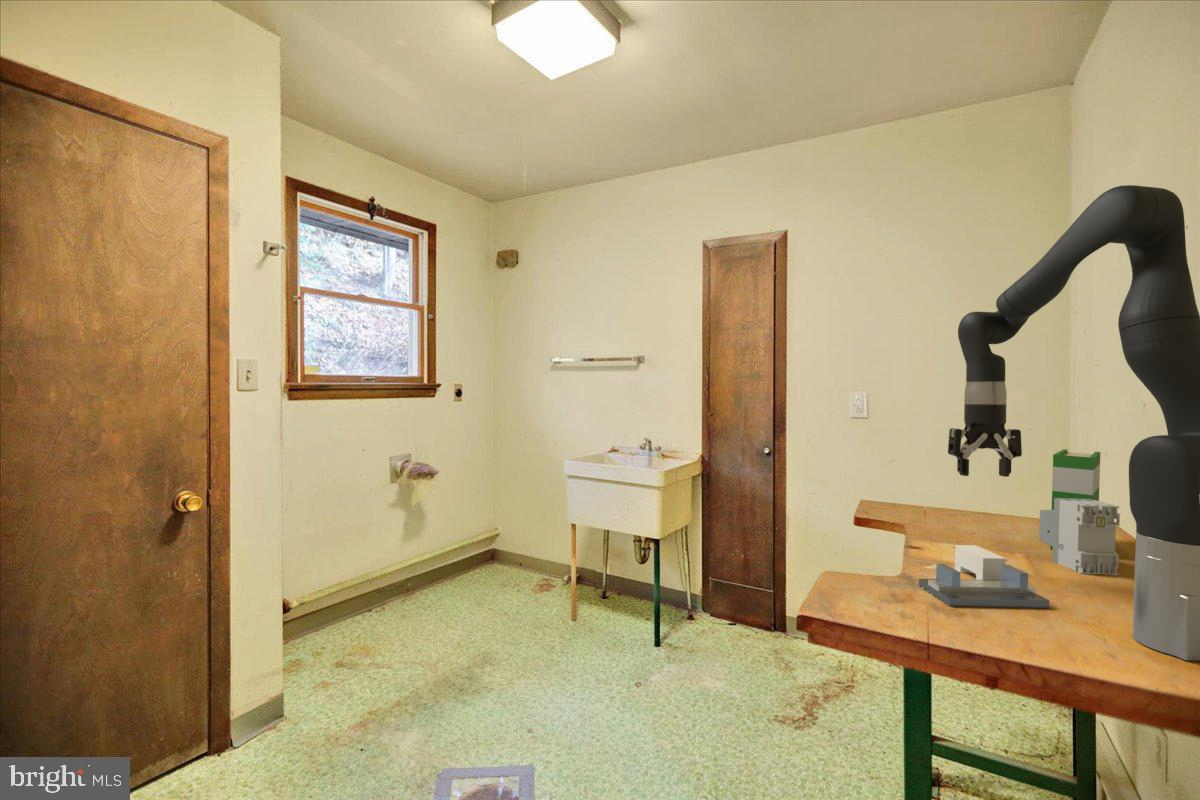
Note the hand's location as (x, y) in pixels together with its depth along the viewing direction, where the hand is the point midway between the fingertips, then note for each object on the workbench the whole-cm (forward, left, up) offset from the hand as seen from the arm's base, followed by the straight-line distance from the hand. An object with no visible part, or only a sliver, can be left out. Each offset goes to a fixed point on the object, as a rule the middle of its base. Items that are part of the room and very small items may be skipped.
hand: (984, 475), depth 117 cm
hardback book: (+20, -36, -21) cm, 47 cm away
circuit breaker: (+6, -24, -21) cm, 33 cm away
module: (-4, +4, -21) cm, 22 cm away
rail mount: (-15, +11, -21) cm, 28 cm away
